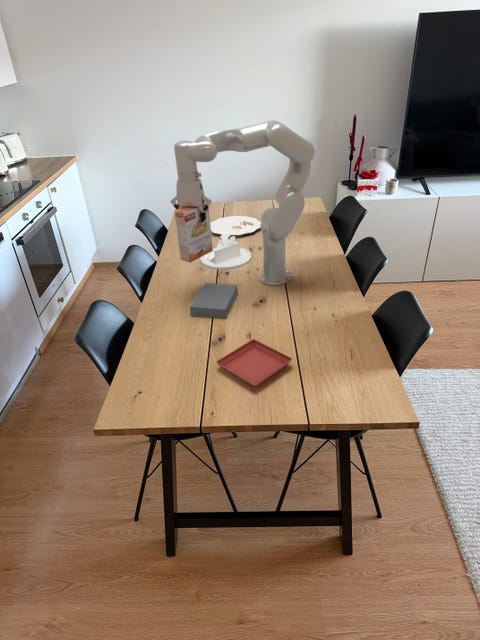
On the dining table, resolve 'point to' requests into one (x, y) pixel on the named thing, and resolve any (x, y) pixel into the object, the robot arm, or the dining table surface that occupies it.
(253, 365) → the plant saucer
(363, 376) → the dining table surface
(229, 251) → the dish
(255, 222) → the plate
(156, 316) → the dining table surface
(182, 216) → the cracker box
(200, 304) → the base block
